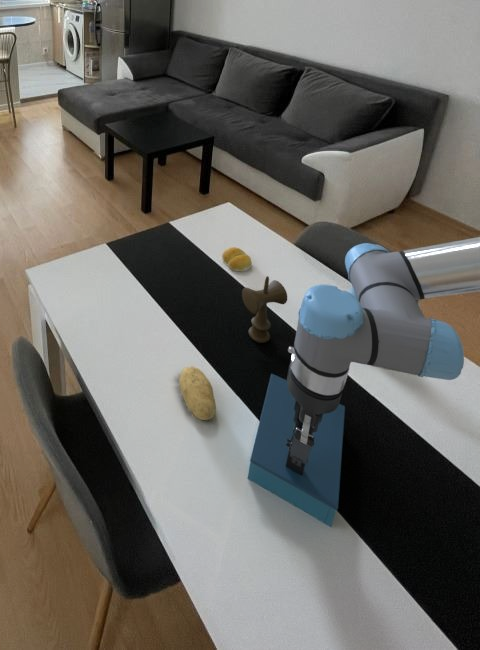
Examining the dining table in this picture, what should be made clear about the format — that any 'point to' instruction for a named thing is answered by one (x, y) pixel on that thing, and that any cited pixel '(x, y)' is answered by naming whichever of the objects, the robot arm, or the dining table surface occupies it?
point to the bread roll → (236, 259)
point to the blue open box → (291, 494)
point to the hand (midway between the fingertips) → (294, 466)
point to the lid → (278, 427)
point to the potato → (197, 393)
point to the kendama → (262, 307)
